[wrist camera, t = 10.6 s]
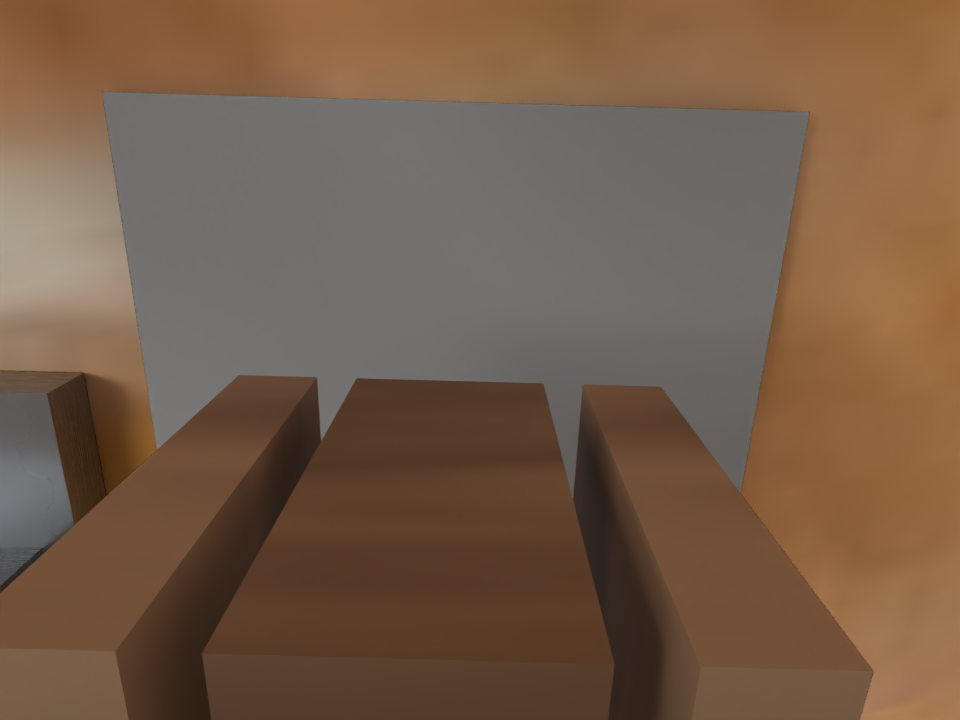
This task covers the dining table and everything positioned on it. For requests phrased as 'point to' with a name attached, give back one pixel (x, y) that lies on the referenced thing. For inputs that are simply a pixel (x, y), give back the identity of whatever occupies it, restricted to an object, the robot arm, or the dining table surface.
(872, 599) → the dining table surface
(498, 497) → the collar
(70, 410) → the vise
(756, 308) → the mat
